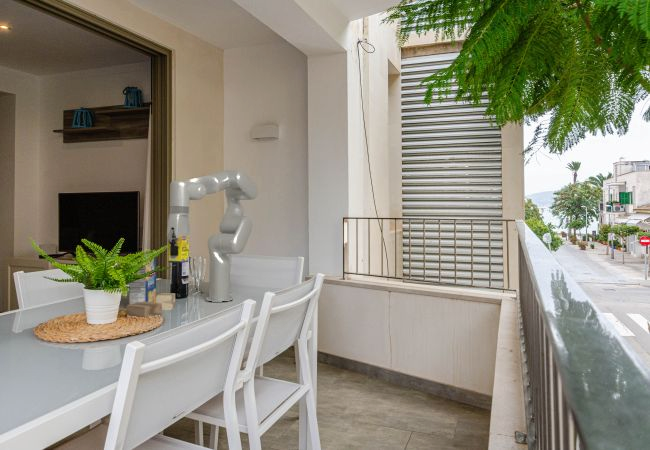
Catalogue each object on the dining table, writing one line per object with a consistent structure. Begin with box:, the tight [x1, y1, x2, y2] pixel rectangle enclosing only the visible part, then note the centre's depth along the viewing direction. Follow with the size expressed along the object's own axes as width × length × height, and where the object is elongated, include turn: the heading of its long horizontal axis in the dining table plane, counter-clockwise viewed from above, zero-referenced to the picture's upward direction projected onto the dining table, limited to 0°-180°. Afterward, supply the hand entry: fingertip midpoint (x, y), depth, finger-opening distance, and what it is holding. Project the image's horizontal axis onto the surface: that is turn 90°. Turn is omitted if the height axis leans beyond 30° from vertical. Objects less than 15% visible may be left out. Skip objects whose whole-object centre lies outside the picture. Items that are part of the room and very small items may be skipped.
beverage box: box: [128, 256, 157, 305], centre depth 189 cm, size 7×11×22 cm, turn 179°
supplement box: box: [168, 236, 190, 264], centre depth 180 cm, size 6×6×11 cm
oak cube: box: [156, 292, 176, 311], centre depth 187 cm, size 6×6×6 cm
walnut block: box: [125, 301, 163, 318], centre depth 171 cm, size 9×9×5 cm
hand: (178, 254), depth 180 cm, fingers closed on supplement box, 6 cm apart
